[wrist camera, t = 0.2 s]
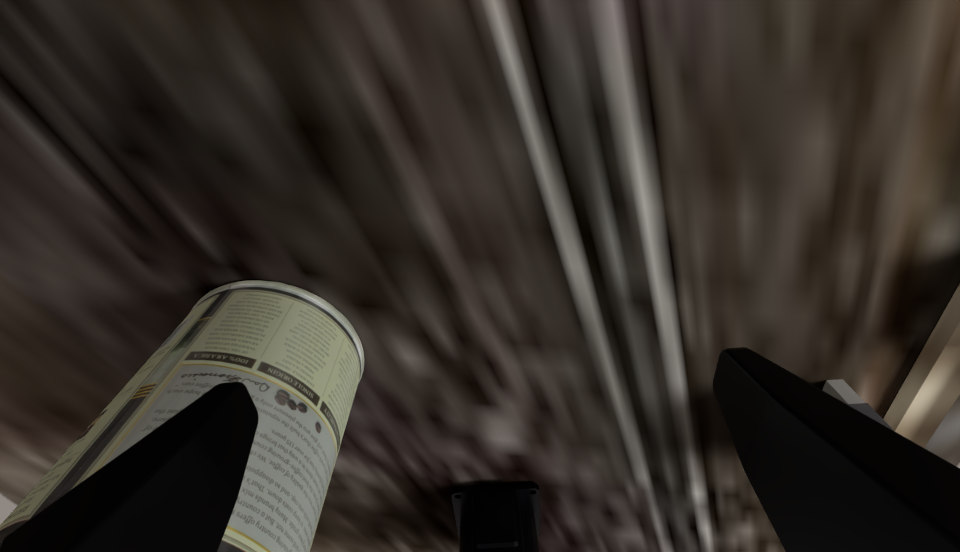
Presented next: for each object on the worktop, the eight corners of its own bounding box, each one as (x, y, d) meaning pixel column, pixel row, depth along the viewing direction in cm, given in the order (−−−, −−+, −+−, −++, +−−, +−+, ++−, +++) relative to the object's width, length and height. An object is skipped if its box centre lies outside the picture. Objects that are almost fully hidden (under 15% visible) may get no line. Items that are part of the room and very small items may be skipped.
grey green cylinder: (352, 425, 30) (272, 706, 18) (188, 393, 29) (-19, 680, 17) (382, 303, 25) (299, 581, 13) (184, 256, 24) (-118, 525, 11)
